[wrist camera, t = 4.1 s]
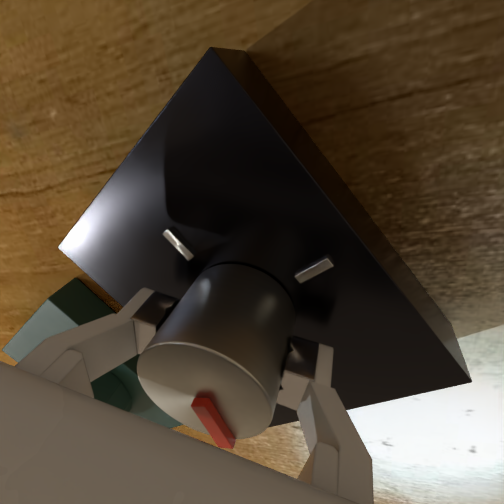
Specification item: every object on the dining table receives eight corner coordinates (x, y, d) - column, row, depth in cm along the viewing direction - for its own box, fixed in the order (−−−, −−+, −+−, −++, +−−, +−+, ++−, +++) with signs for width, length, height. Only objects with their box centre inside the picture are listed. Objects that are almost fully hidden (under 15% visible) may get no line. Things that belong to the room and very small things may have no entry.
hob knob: (174, 272, 12) (103, 355, 9) (273, 253, 11) (233, 347, 7) (218, 349, 14) (172, 443, 11) (309, 344, 12) (291, 455, 9)
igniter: (26, 329, 25) (-24, 369, 21) (75, 276, 19) (18, 319, 16) (136, 418, 27) (106, 466, 24) (205, 393, 22) (179, 450, 19)
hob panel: (102, 219, 16) (53, 249, 14) (244, 49, 10) (207, 45, 8) (269, 384, 19) (256, 433, 17) (452, 324, 14) (474, 386, 11)
